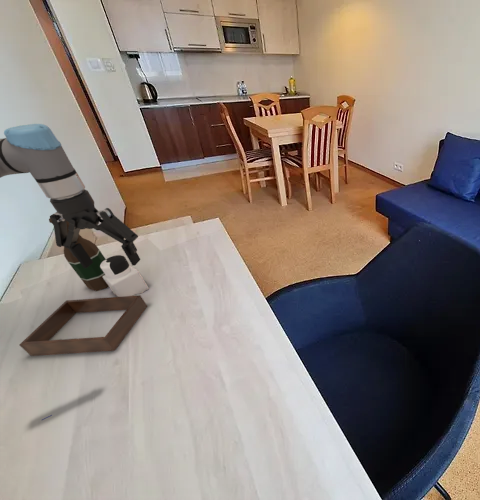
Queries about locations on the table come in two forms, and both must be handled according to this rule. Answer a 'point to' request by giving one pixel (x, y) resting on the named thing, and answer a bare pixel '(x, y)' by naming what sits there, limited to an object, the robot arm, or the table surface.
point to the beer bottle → (93, 273)
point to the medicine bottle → (122, 277)
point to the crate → (43, 345)
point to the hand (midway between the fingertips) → (112, 264)
